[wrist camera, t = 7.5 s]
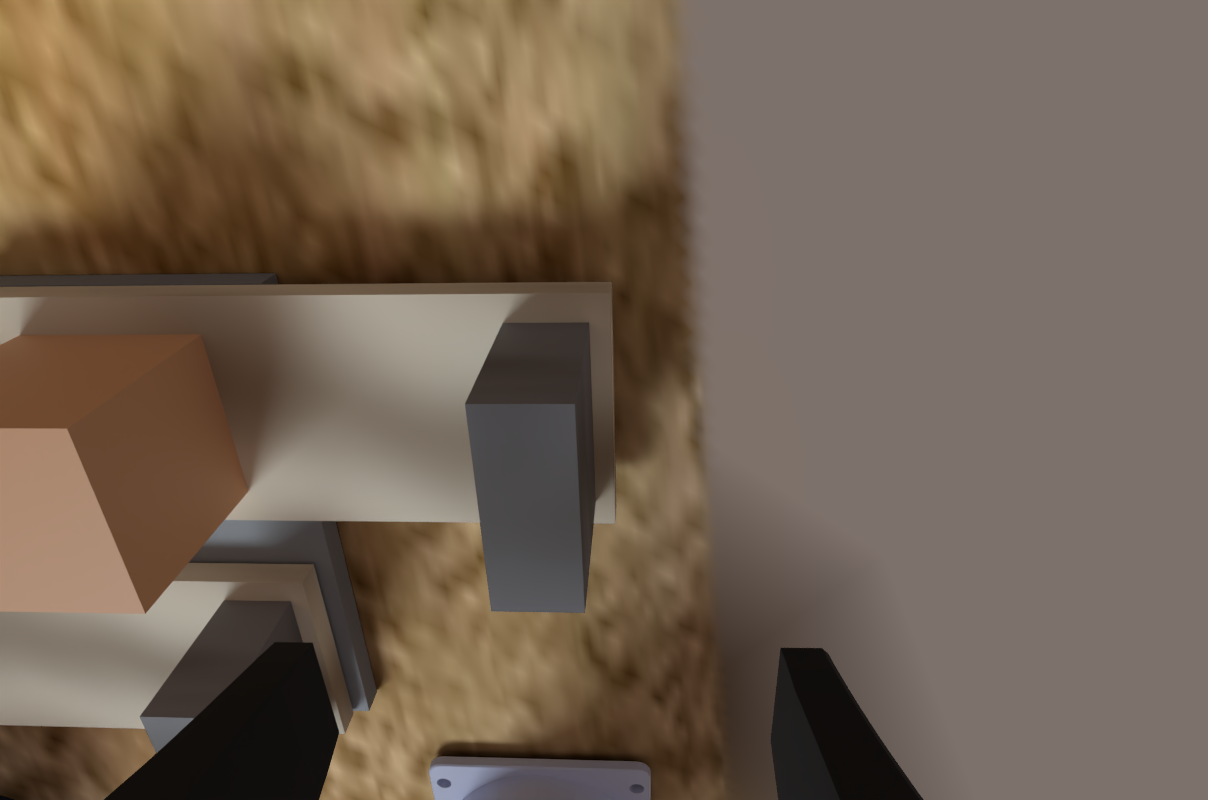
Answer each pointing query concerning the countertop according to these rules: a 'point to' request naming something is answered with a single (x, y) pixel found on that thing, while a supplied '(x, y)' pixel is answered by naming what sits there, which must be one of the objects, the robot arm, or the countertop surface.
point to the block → (108, 469)
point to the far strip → (163, 651)
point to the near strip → (400, 405)
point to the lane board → (266, 536)
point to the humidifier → (4, 798)
